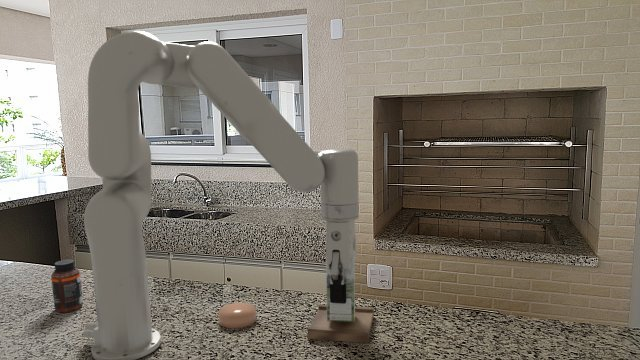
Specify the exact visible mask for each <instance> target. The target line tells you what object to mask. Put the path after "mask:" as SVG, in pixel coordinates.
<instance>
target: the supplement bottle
mask: <svg viewBox="0 0 640 360" xmlns="http://www.w3.org/2000/svg"><path fill="white" fill-rule="evenodd" d="M50 279H51V288H52V289H51V290H52V296H53V304H54V305H53V306H54V310H55V311H56V312H57V313H69V312H70V313H71V312H73V311H76V310H78V309H80V308H82V306H83V305H84V302H83V292H82V284H81V282H82V281H81V273H80V270H79V269H78V268H76V267H75V261H74V260H73V259H62V260H59V261H56V262H55V263H54V271H53V272H52V273H51V275H50Z"/></svg>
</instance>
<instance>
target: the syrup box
mask: <svg viewBox="0 0 640 360" xmlns="http://www.w3.org/2000/svg"><path fill="white" fill-rule="evenodd" d="M329 266H331V264H329ZM339 268H341V269H343V266H342V265H339ZM330 269H331V268H330ZM325 272H326V274H325V276H326V277H325V278H326V283H325V284H326V305H327V321H336V322H354V320H355V307H356V299H355V298H356V295H355V294H356V291H355V290H356V288H355V287H356V285H355V284H356V279H355V278H356V276H355V275H356V260H355V256H354V250H353V254H352V269H351V270H350V271H348V269H345V284H346V303H345V304H341V303H331V302H330V274H331V270H329V269H328V268H327V263H326V262H325ZM339 274H340V275H341V276H342V272H339Z"/></svg>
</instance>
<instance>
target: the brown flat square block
mask: <svg viewBox="0 0 640 360" xmlns="http://www.w3.org/2000/svg"><path fill="white" fill-rule="evenodd" d="M374 309H375V308H374V307H370V306H368V307H367V306H365V307H364V306H355V320H354V322H336V321H327V304H319V305H318V309H317V311H316V314H315V316H314V318H313V319H312V321H311V324H310V326H308V327H307V339H310V340H321V341H335V342H346V343H348V342H349V343H358V344H359V343H360V344H361V343H362V344H368V343H369V340H370V335H371V330H372V327H373V323H374V317H375V316H374V315H375V314H374V313H375V312H374Z"/></svg>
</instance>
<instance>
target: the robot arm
mask: <svg viewBox="0 0 640 360" xmlns="http://www.w3.org/2000/svg"><path fill="white" fill-rule="evenodd" d="M87 76H88V77H87V100H88V101H87V108H88V109H87V132H88V133H87V135H88V136H87V138H88V141H87V142H88V145H87V151H88V152H87V155H88V156H87V157H88V162H89V166H90V167H91V169H92V171H93V173H95V174H96V175H97V176H99V177H100V178H102V189H101V190H99V191H98V192H96V193H95V194H94V195H93V196H92V197H91V198H90V200H89V201H88V202H87V205H86V206H85V210H84V215H83V222H84V230H85V233H86V238H87V242H88V246H89V252H90V260H91V268H92V276H93V278H92V279H93V286H94V299H95V306H96V319H97V320H96V321H97V322H92V321H91V322H87V323H86V325H85V326H84V327H85V330H84V331H83V333H82V336H83V337H84V338H93V340H94V343H93V344H92V346H91V347H90V348H91V350H90V352H91V356H92V358H93V359H94V360H138V359H141V358H144V357H146V356H148V355H150V354H151V353H153V352H154V351H156V350H157V349H158V348H159V346H161V343H162V336H161V333H160V332H159V331H158V330H157V329H154V328H153V326H152V325H153V324H152V312H151V304H150V303H151V302H150V301H151V300H150V287H149V277H148V263H147V253H146V251H147V250H146V246H145V240H144V234H143V225H142V223H143V221H144V220H145V219H147V216H148V215H149V212H150V210H151V208H152V207H151V206H152V152H151V147H150V143H149V141H148V139H147V138H146V136H145V135H144V134H143V133H142V132H141V131H140V124H139V123H140V122H139V121H140V120H139V117H140V104H139V93H138V92H139V89H140V85H141V83H146V84H151V85H159V86H169V87H176V88H187V89H195V90H200V92H201V93H202V94H203V95H204V97H206V98H207V99H208V100H209V101H210V103H212V105H213V106H214V107H215V108H216V109H217V110H218V112H220V114H222V116H223V117H224V118H225V119H226V120H227V122H229V123H230V124H231V125H232V127H233V128H234V129H235V131H237V132H238V133H239V134H240V136H241V137H243V139H245V140H246V141H247V142H248V143H249V144H251V146H252V147H253V148H254V149H255V150H256V151H257V152H258V153H259V155H261V157H263V159H264V160H265V161H266V162H267V163H268V164H269V165H270V166H271V167H272V168H273V170H275V173H277V174H278V175H279V176H280V178H281V179H283V181H284V182H285V183H286V184H287V185H288V186H289V187H290V188H291V189H293V190H294V191H296V192H299V193H310V192H313V191H316V190H317V189H318V188H319V187H320V213H321V214H320V216H321V220H323V221H326V222H325V223H326V224H325V249H326V250H325V264H326V263H327V268H328V269H329V270H331V274H330V302H331V303H341V304H345V303H346V284H345V269H348V271H350V270H351V269H352V254H353V250H354V256H355V261H356V260H357V238H356V237H357V235H356V220H358V219H359V210H360V209H359V206H360V205H359V155H358V152H356V151H355V150H353V149H350V148H330V149H326V150H322V149H321V150H320V149H312V148H311V147H310V145H309V144H308V143H307V141H305V140H304V139H303V138H302V137H301V135H300V134H299V133H298V132H297V131H296V130H295V129H294V127H293V126H292V125H291V124H290V123H289V122H288V120H287V119H285V117H284V115H282V114H281V112H280V111H279V109H278V108H277V106H275V104H274V103H273V102H272V100H270V98H269V97H268V96H267V95H266V94H265V93H264V91H262V90H261V89H260V87H259V86H258V85H257V83H256V82H254V80H253V79H252V78H251V77H250V76H249V74H248V73H247V72H246V71H245V70H244V69H243V68H242V67H241V65H240V64H239V63H238V62H237V61H236V60H235V59H234V58H233V56H232V55H231V54H230V53H229V52H228V51H227V50H226V49H225V47H223V46H222V45H220V44H219V43H216V42H214V41H203V42H199V43H197V44H196V45H187V44H181V43H180V44H179V43H174V42H168V41H167V42H164V41H162V40H160V39H159V38H158V37H156V36H155V35H153V34H151V33H149V32H146V31H141V30H131V31H125V32H122V33H118V34H117V35H115V36H113V37H111V38H110V39H108V40H106V41H105V42H103V44H102V45H101V46H100V47H99V48H98V49H97V51H96V52H95V53H94V55H93V57H92V59H91V62H90V66H89V70H88V75H87ZM329 264H331V266H329ZM339 265H342V266H343V269H341V268H339ZM330 268H331V269H330ZM339 272H342V276H341V275H340V274H339Z"/></svg>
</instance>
